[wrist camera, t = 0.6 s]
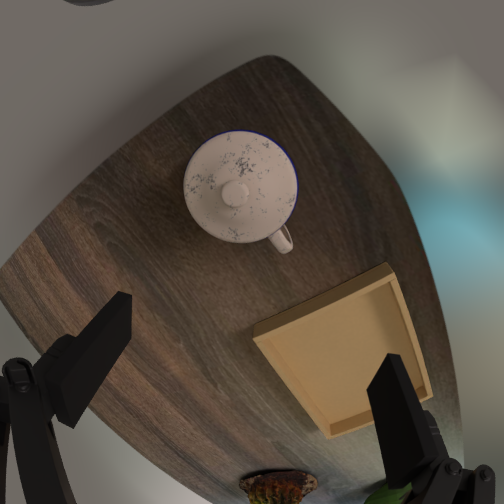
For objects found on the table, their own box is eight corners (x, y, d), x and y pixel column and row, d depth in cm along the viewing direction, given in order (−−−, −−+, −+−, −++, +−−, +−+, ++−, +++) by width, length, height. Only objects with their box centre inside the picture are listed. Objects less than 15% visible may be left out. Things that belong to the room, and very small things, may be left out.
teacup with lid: (190, 163, 32) (146, 178, 21) (263, 114, 30) (253, 102, 19) (252, 253, 35) (239, 307, 24) (324, 212, 33) (344, 250, 22)
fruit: (366, 496, 55) (369, 528, 46) (358, 484, 53) (362, 519, 43) (423, 477, 52) (431, 508, 42) (422, 462, 49) (431, 497, 40)
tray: (254, 324, 38) (252, 338, 36) (385, 261, 34) (394, 272, 31) (326, 425, 45) (328, 439, 42) (427, 383, 40) (433, 396, 37)
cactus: (270, 502, 58) (267, 534, 49) (223, 479, 54) (216, 515, 45) (331, 483, 52) (333, 519, 43) (288, 459, 49) (286, 501, 40)
